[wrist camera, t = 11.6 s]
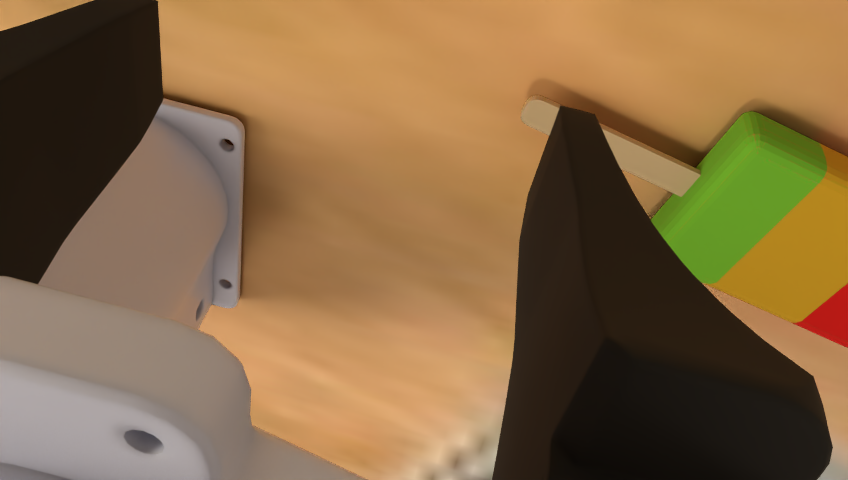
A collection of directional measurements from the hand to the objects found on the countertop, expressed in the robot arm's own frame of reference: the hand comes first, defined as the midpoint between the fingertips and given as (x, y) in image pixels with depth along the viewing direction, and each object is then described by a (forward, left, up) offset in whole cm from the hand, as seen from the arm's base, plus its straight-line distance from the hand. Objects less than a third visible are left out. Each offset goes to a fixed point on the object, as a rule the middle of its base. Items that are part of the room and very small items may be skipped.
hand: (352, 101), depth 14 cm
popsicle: (-6, -11, -10) cm, 16 cm away
